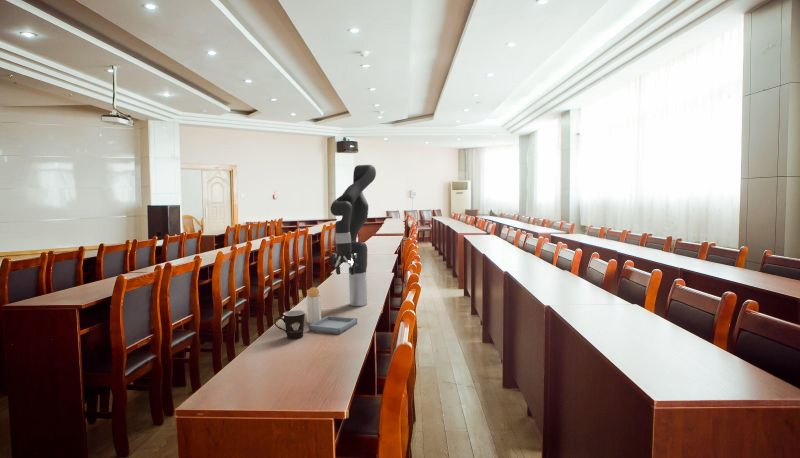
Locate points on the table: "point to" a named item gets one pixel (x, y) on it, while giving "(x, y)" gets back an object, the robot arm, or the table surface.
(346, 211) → the robot arm
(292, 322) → the coffee mug
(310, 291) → the ball
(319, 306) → the white hexagonal prism
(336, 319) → the tray
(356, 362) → the table surface
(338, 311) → the table surface
